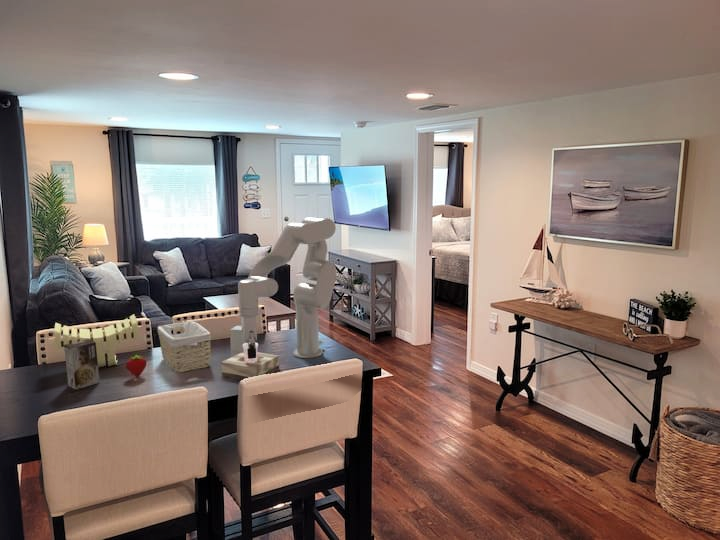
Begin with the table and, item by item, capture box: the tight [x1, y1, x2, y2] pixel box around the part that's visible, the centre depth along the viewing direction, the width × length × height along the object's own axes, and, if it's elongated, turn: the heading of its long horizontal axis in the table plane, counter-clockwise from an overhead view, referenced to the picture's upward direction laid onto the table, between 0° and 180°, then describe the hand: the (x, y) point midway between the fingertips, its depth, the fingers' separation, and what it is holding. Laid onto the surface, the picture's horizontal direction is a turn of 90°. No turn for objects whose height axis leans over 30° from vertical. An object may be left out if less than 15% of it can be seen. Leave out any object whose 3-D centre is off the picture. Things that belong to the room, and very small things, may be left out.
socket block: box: [220, 351, 280, 380], centre depth 211 cm, size 16×16×6 cm
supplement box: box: [229, 325, 245, 358], centre depth 230 cm, size 7×7×13 cm
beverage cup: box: [243, 339, 259, 363], centre depth 210 cm, size 6×6×14 cm
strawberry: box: [125, 354, 148, 378], centre depth 205 cm, size 6×8×10 cm
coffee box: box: [63, 339, 101, 390], centre depth 197 cm, size 9×6×16 cm
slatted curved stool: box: [53, 313, 140, 368], centre depth 220 cm, size 30×16×18 cm, turn 118°
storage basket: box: [157, 320, 212, 373], centre depth 221 cm, size 24×16×15 cm
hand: (250, 355), depth 210 cm, fingers closed on beverage cup, 6 cm apart
